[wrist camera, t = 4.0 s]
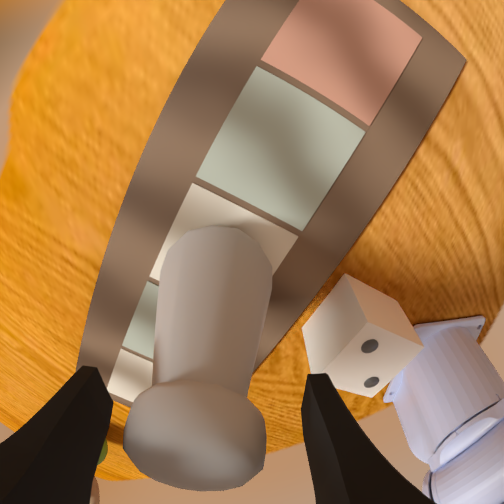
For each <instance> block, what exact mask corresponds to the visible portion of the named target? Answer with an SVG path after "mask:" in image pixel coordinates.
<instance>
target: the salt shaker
mask: <svg viewBox="0 0 504 504" xmlns="http://www.w3.org/2000/svg"><path fill="white" fill-rule="evenodd" d="M271 291H272V265H271V263H270V261H269V260H268V258H267V256H266V255H265V253H264V251H263V250H262V248H261V246H260V244H259V243H258V242H256V241H255V240H254V239H252V238H251V237H249V236H248V235H247V234H245V233H244V232H242V231H241V230H239V229H238V228H230V227H224V226H217V225H210V226H206V227H202V228H197V229H193V230H189V231H187V232H186V233H185V234H184V235H183V236H182V237H181V238H180V239H179V240H178V241H177V242H176V243H174V244H173V245H172V246H171V247H170V248H169V249H168V251H167V254H166V257H165V259H164V262H163V265H162V268H161V271H160V280H159V290H158V301H157V312H156V324H155V338H154V354H153V374H152V387H150V388H148V389H146V390H145V391H143V392H141V393H140V394H139V395H138V396H137V397H136V398H135V400H134V402H133V404H132V407H131V410H130V412H129V415H128V418H127V421H126V425H125V428H124V436H123V449H124V451H125V452H126V453H127V455H128V456H129V458H130V459H131V460H132V462H133V463H134V464H135V466H136V467H137V468H138V469H139V471H140V472H142V473H144V474H145V475H147V476H149V477H150V478H152V479H154V480H156V481H158V482H161V483H164V484H168V485H170V486H174V487H177V488H181V489H187V490H195V491H224V490H228V489H232V488H236V487H240V486H243V485H244V484H245V483H246V482H248V481H249V480H251V479H252V478H253V477H254V476H255V475H257V474H258V473H259V472H260V471H261V470H262V469H263V466H264V459H265V454H266V429H265V421H264V418H263V416H262V414H261V412H260V411H259V410H258V409H257V408H256V407H255V406H254V405H253V404H252V403H251V402H250V401H249V400H248V399H247V394H248V389H249V384H250V380H251V376H252V372H253V368H254V364H255V360H256V356H257V351H258V347H259V343H260V339H261V335H262V330H263V326H264V322H265V317H266V313H267V309H268V304H269V300H270V296H271Z"/></svg>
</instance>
